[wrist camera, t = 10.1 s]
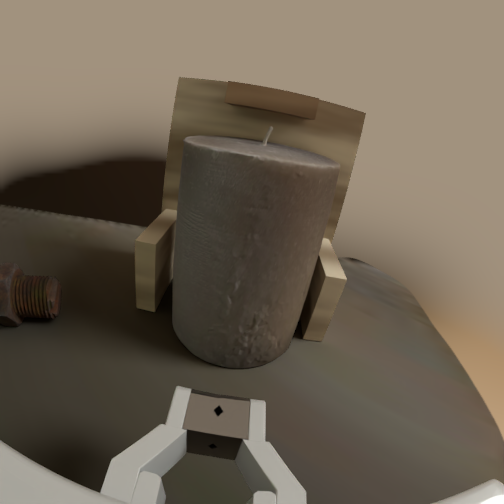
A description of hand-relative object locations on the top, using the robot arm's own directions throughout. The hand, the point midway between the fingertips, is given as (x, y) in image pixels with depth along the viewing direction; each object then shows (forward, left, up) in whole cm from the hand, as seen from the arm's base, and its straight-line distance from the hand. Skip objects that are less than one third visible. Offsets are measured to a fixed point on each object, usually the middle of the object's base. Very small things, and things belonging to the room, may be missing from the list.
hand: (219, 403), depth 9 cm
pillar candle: (-4, +12, -7) cm, 14 cm away
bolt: (-20, -2, -7) cm, 22 cm away
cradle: (-6, +15, -7) cm, 17 cm away
